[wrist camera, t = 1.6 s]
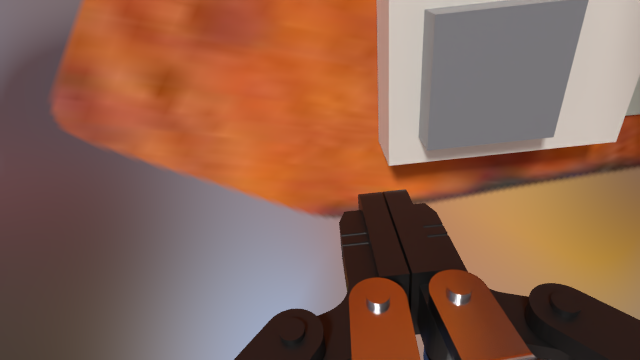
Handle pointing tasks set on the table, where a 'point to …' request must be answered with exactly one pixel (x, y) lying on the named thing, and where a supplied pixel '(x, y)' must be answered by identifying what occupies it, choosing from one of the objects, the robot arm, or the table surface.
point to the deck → (579, 100)
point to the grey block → (496, 70)
